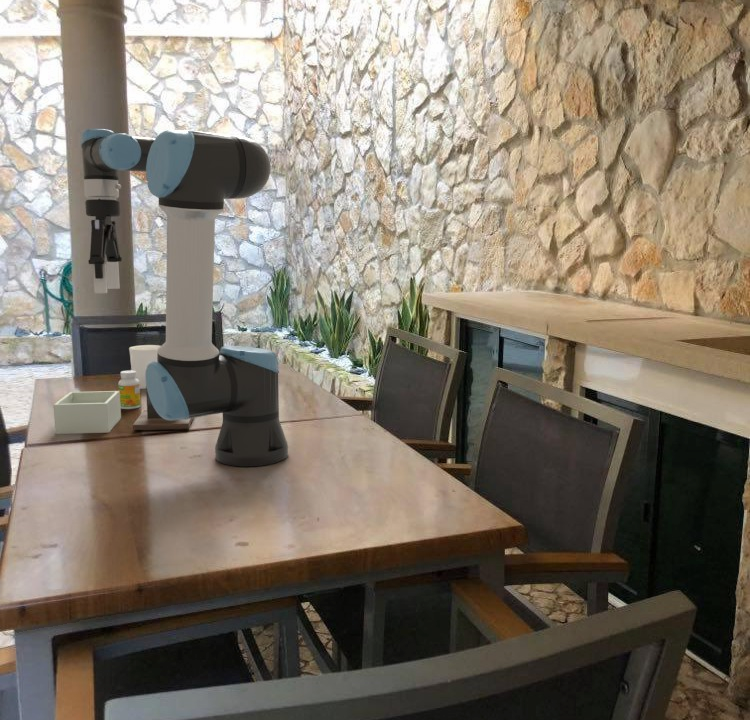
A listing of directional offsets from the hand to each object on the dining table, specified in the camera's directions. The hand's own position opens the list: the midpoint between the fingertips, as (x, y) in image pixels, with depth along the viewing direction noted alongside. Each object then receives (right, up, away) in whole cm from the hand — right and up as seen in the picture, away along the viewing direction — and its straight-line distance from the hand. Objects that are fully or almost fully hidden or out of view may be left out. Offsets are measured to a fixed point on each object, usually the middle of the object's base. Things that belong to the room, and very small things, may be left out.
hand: (107, 290), depth 177 cm
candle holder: (-6, -25, +52) cm, 57 cm away
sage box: (-6, -32, +5) cm, 33 cm away
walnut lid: (+12, -31, +7) cm, 34 cm away
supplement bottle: (-3, -29, +24) cm, 38 cm away
